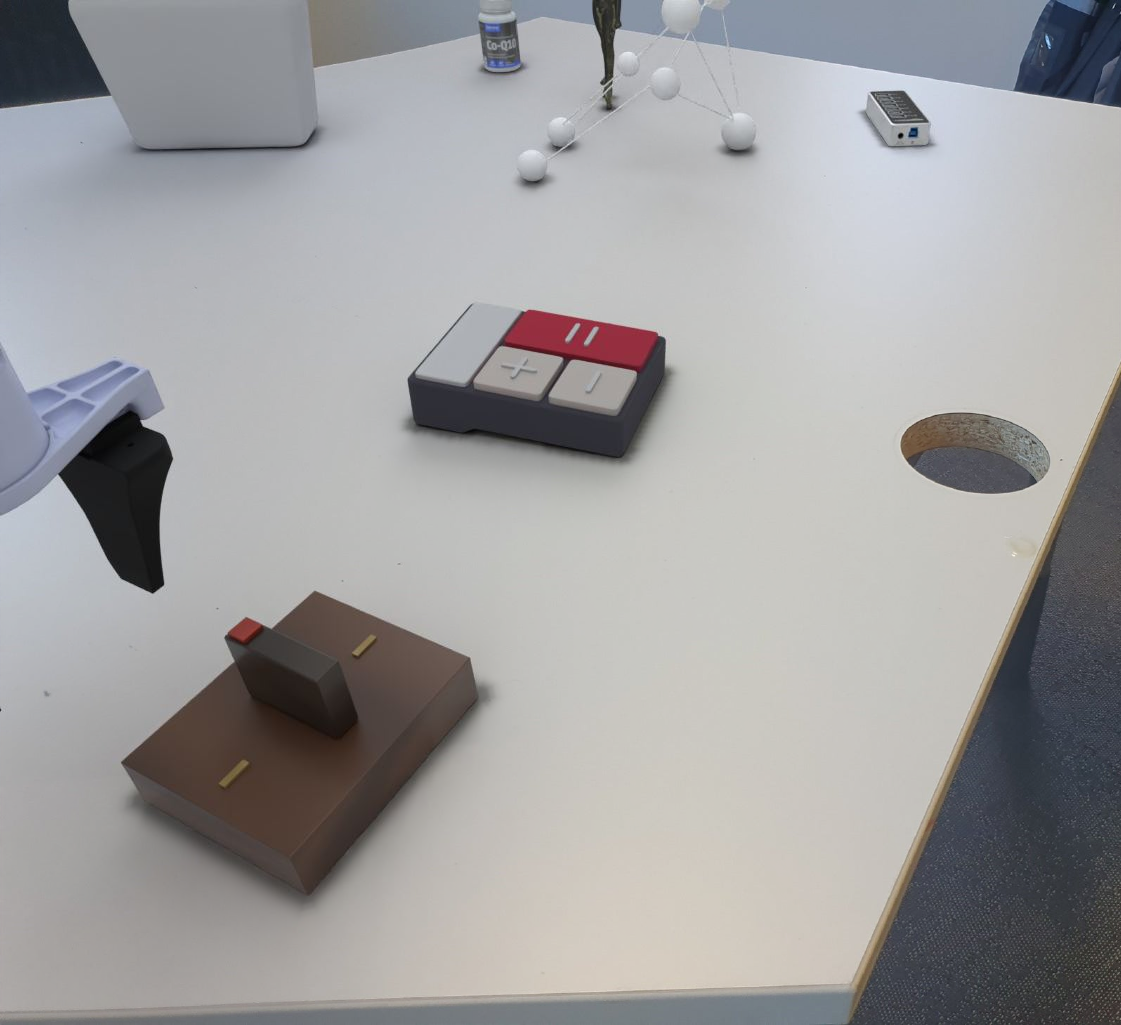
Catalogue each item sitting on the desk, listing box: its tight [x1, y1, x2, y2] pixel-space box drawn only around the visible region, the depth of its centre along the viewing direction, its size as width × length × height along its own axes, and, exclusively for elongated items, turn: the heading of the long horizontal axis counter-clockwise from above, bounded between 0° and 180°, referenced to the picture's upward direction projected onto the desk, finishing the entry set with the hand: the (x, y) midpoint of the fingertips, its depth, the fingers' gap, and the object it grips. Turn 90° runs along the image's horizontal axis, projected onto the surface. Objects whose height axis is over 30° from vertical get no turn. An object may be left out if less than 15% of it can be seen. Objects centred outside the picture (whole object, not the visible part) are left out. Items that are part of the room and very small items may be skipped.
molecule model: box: [516, 0, 757, 182], centre depth 99 cm, size 14×25×18 cm, turn 97°
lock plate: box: [120, 590, 479, 896], centre depth 47 cm, size 12×10×3 cm
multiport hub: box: [865, 89, 932, 147], centre depth 110 cm, size 4×11×2 cm, turn 5°
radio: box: [68, 0, 319, 150], centre depth 101 cm, size 22×8×25 cm, turn 93°
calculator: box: [406, 301, 667, 458], centre depth 69 cm, size 11×4×15 cm
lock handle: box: [223, 616, 358, 739], centre depth 44 cm, size 6×1×4 cm, turn 62°
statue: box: [591, 0, 623, 109], centre depth 111 cm, size 5×6×20 cm
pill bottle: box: [477, 0, 522, 73], centre depth 125 cm, size 5×5×8 cm
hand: (65, 640), depth 40 cm, fingers open, 7 cm apart
